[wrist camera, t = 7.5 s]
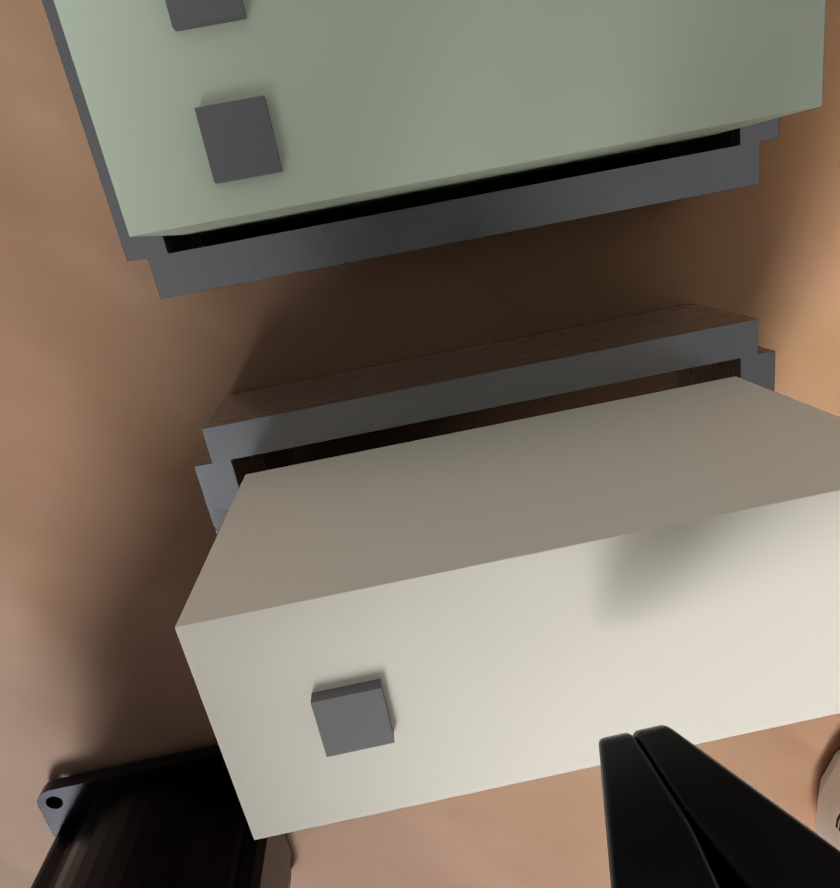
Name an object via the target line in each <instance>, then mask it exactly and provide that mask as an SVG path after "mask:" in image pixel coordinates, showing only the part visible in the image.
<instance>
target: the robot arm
mask: <svg viewBox="0 0 840 888" xmlns="http://www.w3.org/2000/svg"><path fill="white" fill-rule="evenodd" d="M599 755H600V766H601V778H602V789H603V800H604V812H605V823H606V834H607V846H608V857H609V868H610V879H611V888H840V850H838V849H837V848H836V847H834V846H833V845H832V844H830V843H829V842H827V841H826V840H825V839H823V838H822V837H821V836H819V835H818V834H816V833H815V832H814V831H812V830H811V829H809V828H808V827H807V826H805V825H804V824H803V823H801V822H800V821H798V820H797V819H796V818H794V817H793V816H792V815H790V814H789V813H787V812H786V811H785V810H783V809H782V808H781V807H779V806H778V805H776V804H775V803H774V802H772V801H771V800H770V799H768V798H767V797H765V796H764V795H763V794H761V793H760V792H758V791H757V790H756V789H754V788H753V787H752V786H750V785H749V784H747V783H746V782H745V781H743V780H742V779H741V778H739V777H738V776H736V775H735V774H734V773H732V772H731V771H730V770H728V769H727V768H725V767H724V766H723V765H721V764H720V763H719V762H717V761H716V760H714V759H713V758H712V757H710V756H709V755H707V754H706V753H705V752H703V751H702V750H701V749H699V748H698V747H696V746H695V745H694V744H692V743H691V742H690V741H688V740H687V739H685V738H684V737H683V736H681V735H680V734H679V733H677V732H676V731H674V730H673V729H672V728H670V727H668V726H665V725H658V726H654V727H649V728H645V729H640V730H637V731H635V732H634V733H633V735H631V734H629V733H622V734H618V735H613V736H608V737H604V738H601V739H600V740H599ZM58 797H59V798H58ZM37 803H38V807H39V808H40V810H41V812H42V814H43V816H44V818H45V820H46V822H47V824H48V826H49V827H50V829H51V831H52V833H53V835H54V837H55V840H54V842H53V844H52V846H51V848H50V850H49V852H48V854H47V856H46V858H45V860H44V862H43V864H42V866H41V868H40V870H39V872H38V874H37V876H36V878H35V880H34V882H33V884H32V886H31V888H290V882H291V870H290V864H291V850H290V848H289V845H288V842H287V839H286V836H285V834H280V835H276V836H271V837H266V838H262V839H257V840H254V838H253V835H252V833H251V830H250V827H249V825H248V822H247V819H246V817H245V814H244V811H243V809H242V806H241V803H240V801H239V798H238V795H237V793H236V790H235V787H234V785H233V782H232V779H231V777H230V774H229V771H228V769H227V766H226V763H225V761H224V758H223V755H222V753H221V750H220V747H219V745H216V746H211V747H206V748H202V749H197V750H192V751H188V752H183V753H178V754H174V755H169V756H164V757H159V758H155V759H150V760H145V761H141V762H136V763H131V764H126V765H122V766H117V767H112V768H108V769H103V770H98V771H93V772H89V773H84V774H79V775H75V776H70V777H65V778H61V779H56V780H53V781H50V782H48V783H47V784H46V785H45V786H44V788H43V790H42V792H41V793H40V795H39V797H38V800H37Z"/></svg>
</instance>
